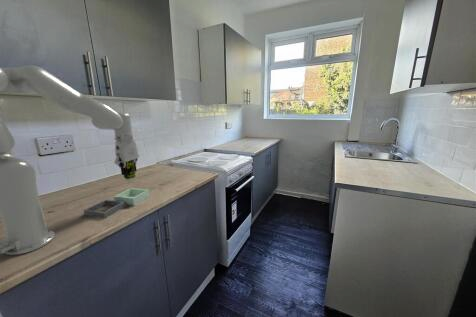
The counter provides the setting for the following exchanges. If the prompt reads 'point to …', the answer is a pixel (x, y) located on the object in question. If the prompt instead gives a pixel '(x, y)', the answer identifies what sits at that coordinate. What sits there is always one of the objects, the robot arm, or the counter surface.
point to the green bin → (132, 196)
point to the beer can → (130, 170)
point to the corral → (117, 206)
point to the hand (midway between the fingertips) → (129, 172)
